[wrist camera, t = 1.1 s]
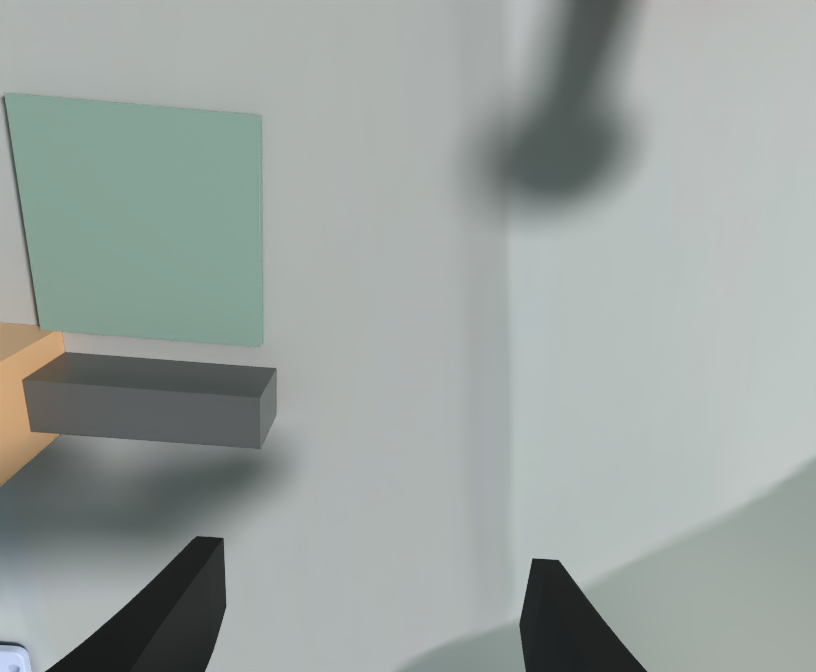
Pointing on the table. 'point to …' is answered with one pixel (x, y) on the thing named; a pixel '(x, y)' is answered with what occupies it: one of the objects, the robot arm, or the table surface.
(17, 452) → the plug
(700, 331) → the table surface
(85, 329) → the mat
